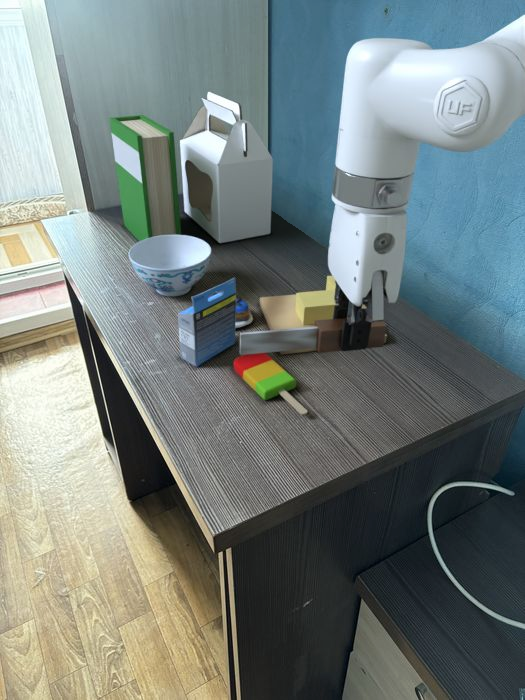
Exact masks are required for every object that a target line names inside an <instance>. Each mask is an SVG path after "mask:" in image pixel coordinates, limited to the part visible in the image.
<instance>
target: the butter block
mask: <svg viewBox="0 0 525 700" xmlns="http://www.w3.org/2000/svg"><path fill="white" fill-rule="evenodd" d="M295 294H296V308H295V310H296V312H297V314H298V316H299V318H300V320H301V322H302V324H303V325H310V324H315V321H316V320H327V319H333V313H334V305H339V304H335V301H334V295H335V289H334V290H326V289H325V290H313V291H302V292H301V291H300V292H296V293H295Z"/></svg>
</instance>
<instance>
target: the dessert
mask: <svg viewBox="0 0 525 700" xmlns="http://www.w3.org/2000/svg"><path fill="white" fill-rule="evenodd" d="M253 320H254V318H253V314H252V312H251V311H250V308H249V305H248V303H247V302H246V301H245V300H243V299H242V298H241V297H238V298H237V297H236V325H235V329H238V328H242V327H245V326H247V325H250V324H251V323H252V322H253Z"/></svg>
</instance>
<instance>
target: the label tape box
mask: <svg viewBox="0 0 525 700" xmlns="http://www.w3.org/2000/svg"><path fill="white" fill-rule="evenodd" d="M236 299H237V287H236V277H232V278H230V279H229V280H227V281H225V282H222V283H221V284H220V283H219V284H218V285H216V286H214V287H212V288H209V289H207V290H205V291H203V292H201V293H199V294H196V295H193V296H191V302H192V306H190V307H188V308H186V309H184V310H182V311H180V312H178V313H177V324H178V337H179V354H180V358H181V359H182V360H184V361H185V362H188V364H191V365H192V366H194V367H199V366H201V365H202V364H203V363H206V362H207V361H208V360H210V359H212V358H213V357H215V356H217V355H218V354H220V353H222V352H223V351H225V350H226V349H228V348H230V347H231V346H233V345H235V344H236V328H235V325H236Z"/></svg>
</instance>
